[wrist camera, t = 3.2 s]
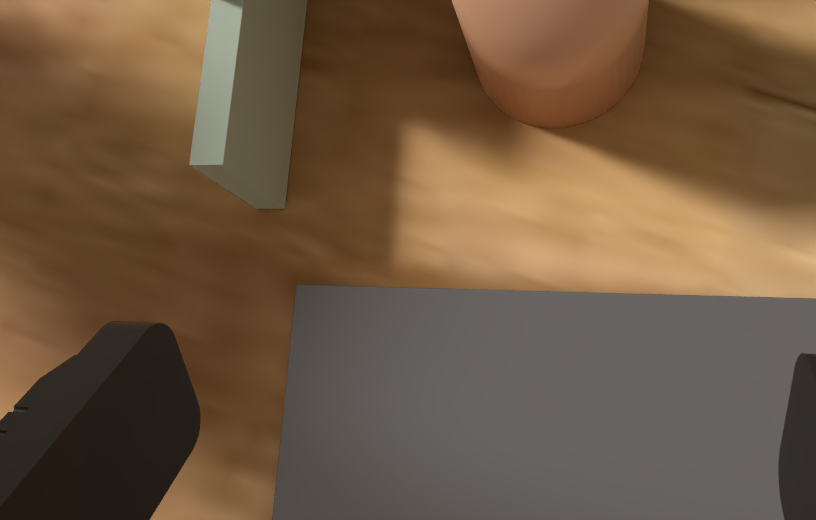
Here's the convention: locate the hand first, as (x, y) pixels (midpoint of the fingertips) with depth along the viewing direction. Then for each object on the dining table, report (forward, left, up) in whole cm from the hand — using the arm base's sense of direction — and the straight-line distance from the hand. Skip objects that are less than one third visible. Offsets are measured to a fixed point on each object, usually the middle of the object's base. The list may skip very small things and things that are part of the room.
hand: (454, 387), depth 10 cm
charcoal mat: (0, -2, -16) cm, 16 cm away
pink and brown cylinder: (0, +13, -16) cm, 21 cm away
